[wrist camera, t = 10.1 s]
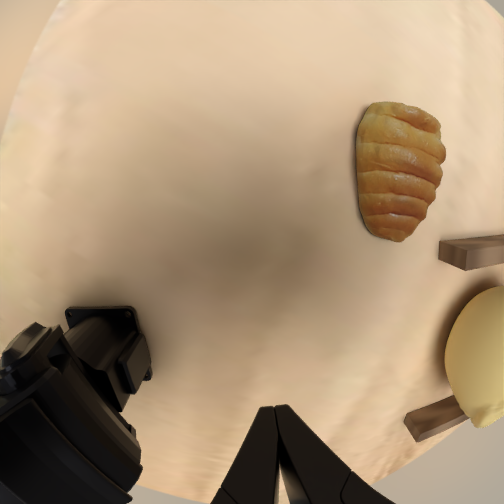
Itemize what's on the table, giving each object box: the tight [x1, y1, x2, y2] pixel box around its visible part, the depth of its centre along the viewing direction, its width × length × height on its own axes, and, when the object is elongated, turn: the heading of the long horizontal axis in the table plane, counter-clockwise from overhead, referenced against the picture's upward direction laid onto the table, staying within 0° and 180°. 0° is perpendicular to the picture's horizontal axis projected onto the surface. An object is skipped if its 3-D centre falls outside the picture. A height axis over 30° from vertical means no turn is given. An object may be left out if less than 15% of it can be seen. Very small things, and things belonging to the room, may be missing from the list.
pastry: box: [356, 102, 446, 242], centre depth 16 cm, size 9×7×4 cm
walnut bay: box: [404, 235, 504, 443], centre depth 20 cm, size 16×20×4 cm
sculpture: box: [445, 286, 504, 428], centre depth 16 cm, size 11×12×11 cm
